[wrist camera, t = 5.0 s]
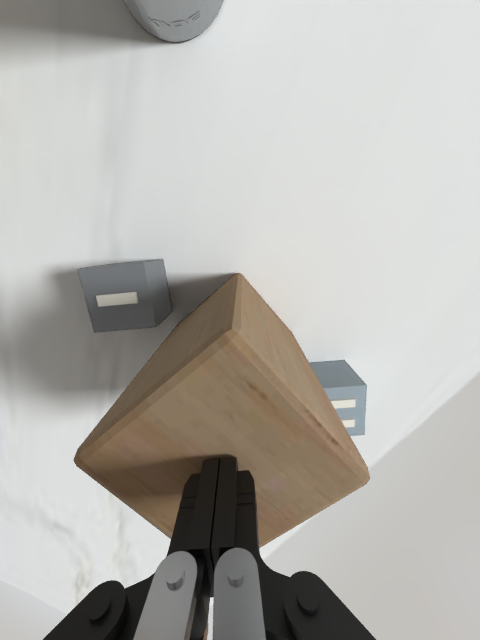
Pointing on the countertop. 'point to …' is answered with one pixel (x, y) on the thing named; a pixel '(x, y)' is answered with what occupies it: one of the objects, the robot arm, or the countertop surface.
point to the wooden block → (226, 419)
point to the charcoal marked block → (126, 295)
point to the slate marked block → (344, 393)
